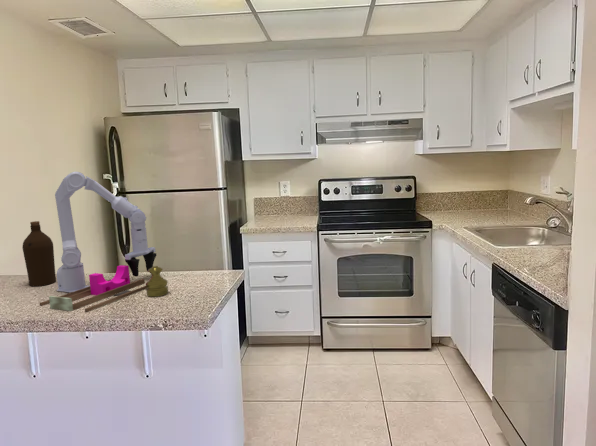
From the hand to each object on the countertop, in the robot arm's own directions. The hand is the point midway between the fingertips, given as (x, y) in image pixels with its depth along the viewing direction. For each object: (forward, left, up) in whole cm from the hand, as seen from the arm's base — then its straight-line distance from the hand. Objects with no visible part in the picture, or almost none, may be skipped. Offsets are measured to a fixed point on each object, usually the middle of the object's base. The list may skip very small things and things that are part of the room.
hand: (142, 273), depth 180 cm
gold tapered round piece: (+20, -14, -3) cm, 25 cm away
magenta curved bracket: (-1, -14, -3) cm, 15 cm away
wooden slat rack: (0, -21, -2) cm, 22 cm away
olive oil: (-38, -15, -3) cm, 41 cm away
